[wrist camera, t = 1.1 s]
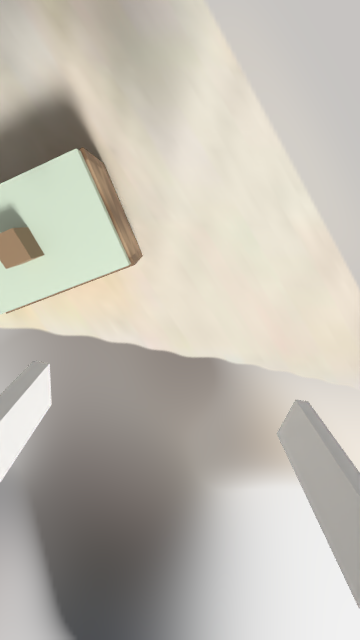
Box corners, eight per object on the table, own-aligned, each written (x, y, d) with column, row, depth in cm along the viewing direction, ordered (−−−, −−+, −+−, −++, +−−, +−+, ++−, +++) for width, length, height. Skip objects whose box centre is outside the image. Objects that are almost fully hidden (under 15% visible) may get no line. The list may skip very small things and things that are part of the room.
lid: (-65, 218, 24) (-102, 218, 20) (80, 151, 22) (64, 139, 18) (5, 311, 28) (-17, 323, 25) (130, 263, 26) (124, 269, 23)
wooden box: (-16, 217, 30) (-67, 216, 24) (103, 163, 28) (82, 147, 22) (36, 296, 35) (6, 313, 29) (142, 255, 33) (134, 264, 26)
